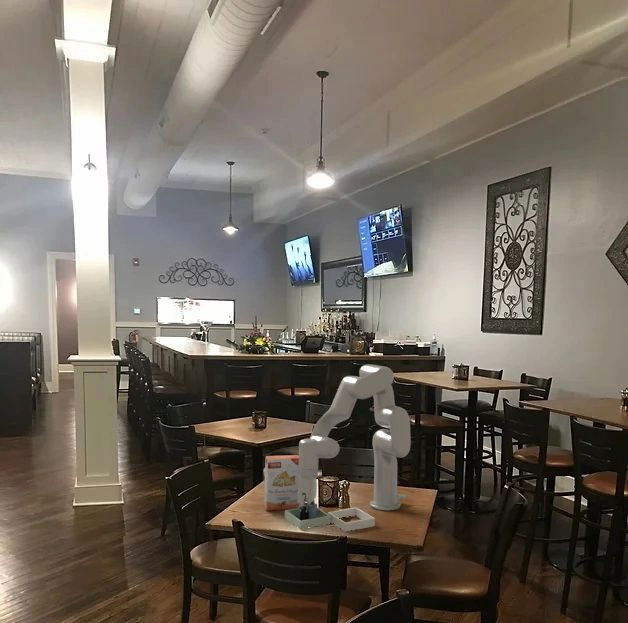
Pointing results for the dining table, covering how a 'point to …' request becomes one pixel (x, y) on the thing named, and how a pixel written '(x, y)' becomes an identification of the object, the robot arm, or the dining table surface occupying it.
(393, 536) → the dining table surface
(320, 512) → the sage square tray
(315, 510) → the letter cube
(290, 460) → the cracker box
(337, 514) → the white square tray
